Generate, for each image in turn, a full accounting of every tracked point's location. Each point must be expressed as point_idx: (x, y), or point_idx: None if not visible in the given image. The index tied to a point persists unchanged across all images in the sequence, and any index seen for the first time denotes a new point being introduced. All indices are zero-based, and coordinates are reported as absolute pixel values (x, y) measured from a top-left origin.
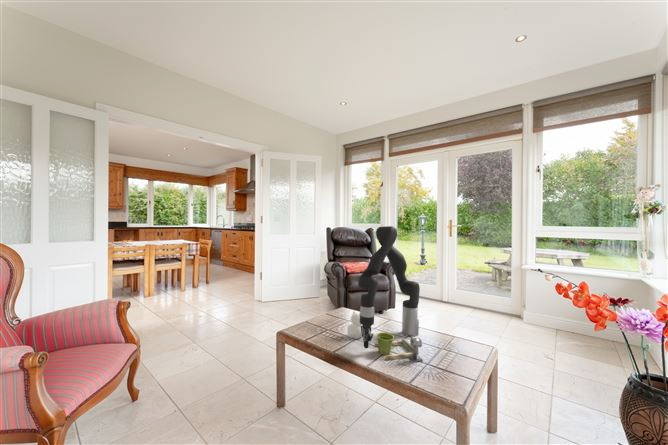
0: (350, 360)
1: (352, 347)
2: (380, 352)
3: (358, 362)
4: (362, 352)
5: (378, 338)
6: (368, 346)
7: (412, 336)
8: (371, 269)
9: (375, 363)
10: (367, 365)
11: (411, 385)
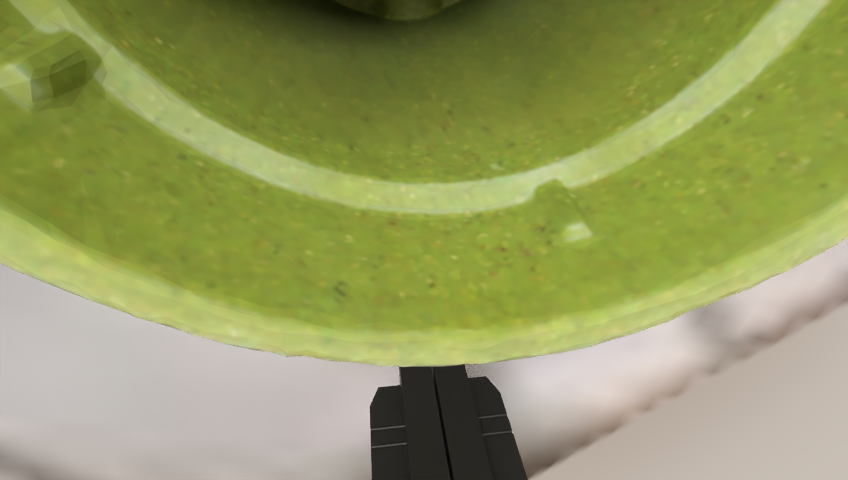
0: (533, 472)
1: (155, 424)
2: (465, 14)
3: (607, 412)
4: None
5: (649, 306)
6: (466, 374)
7: None
8: None
9: None
10: (718, 339)
11: None
